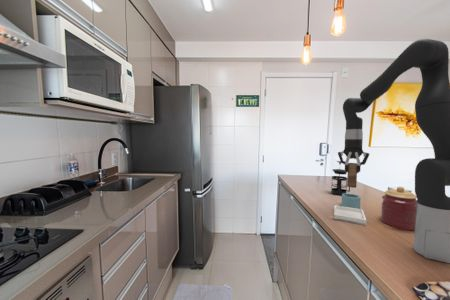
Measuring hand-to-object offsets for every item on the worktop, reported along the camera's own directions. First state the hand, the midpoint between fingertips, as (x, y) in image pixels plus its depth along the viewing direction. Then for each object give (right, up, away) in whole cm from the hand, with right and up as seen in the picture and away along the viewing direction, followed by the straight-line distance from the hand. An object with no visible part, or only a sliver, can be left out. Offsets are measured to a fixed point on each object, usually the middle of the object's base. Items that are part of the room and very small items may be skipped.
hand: (352, 172), depth 103 cm
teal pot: (+6, -21, +11) cm, 25 cm away
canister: (+15, -23, -10) cm, 29 cm away
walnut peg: (0, -7, 0) cm, 7 cm away
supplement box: (+28, -22, +6) cm, 36 cm away
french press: (+14, -20, +36) cm, 44 cm away
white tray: (-3, -22, -1) cm, 22 cm away
